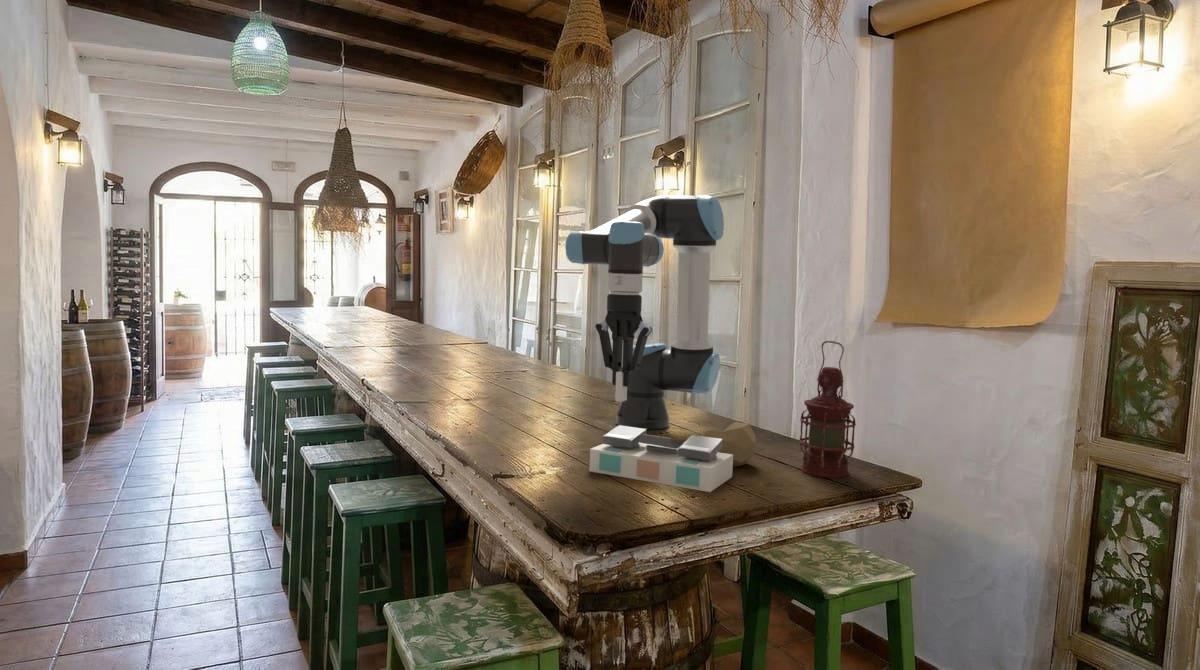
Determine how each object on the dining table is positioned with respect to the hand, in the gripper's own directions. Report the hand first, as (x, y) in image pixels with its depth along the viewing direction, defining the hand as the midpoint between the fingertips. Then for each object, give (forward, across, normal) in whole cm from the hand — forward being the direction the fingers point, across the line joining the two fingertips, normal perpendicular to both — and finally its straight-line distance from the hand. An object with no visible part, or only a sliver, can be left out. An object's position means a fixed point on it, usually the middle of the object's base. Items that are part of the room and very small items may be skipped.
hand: (620, 400), depth 176 cm
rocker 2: (+9, +18, +3) cm, 20 cm away
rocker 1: (+9, 0, +3) cm, 9 cm away
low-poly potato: (+16, +18, +20) cm, 31 cm away
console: (+16, +9, +3) cm, 18 cm away
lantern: (+16, +39, +27) cm, 50 cm away
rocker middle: (+9, +9, +3) cm, 13 cm away
